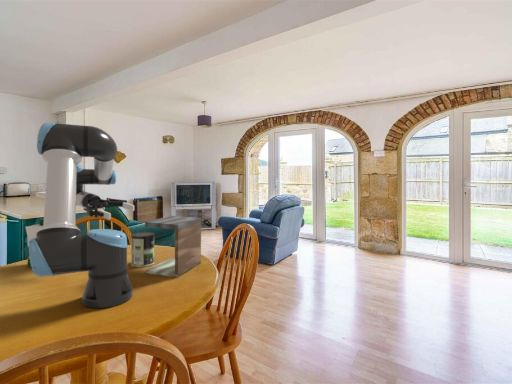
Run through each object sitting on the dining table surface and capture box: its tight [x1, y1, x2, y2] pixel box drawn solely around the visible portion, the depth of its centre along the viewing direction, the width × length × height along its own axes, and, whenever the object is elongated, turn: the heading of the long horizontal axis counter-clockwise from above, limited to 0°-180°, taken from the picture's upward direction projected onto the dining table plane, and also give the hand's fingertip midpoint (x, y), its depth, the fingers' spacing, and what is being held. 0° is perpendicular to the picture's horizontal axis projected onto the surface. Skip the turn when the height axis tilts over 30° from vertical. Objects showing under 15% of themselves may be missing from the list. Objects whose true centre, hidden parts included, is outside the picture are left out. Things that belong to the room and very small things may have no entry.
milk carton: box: [25, 219, 44, 268], centre depth 127 cm, size 9×9×20 cm
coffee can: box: [130, 231, 155, 268], centre depth 133 cm, size 10×10×14 cm
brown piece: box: [144, 215, 202, 278], centre depth 128 cm, size 16×20×22 cm
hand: (122, 212), depth 129 cm, fingers open, 13 cm apart
